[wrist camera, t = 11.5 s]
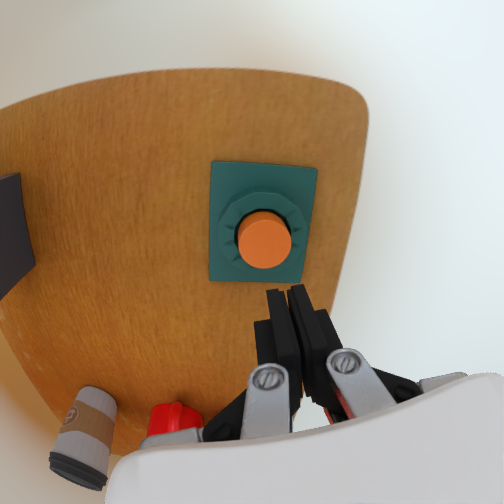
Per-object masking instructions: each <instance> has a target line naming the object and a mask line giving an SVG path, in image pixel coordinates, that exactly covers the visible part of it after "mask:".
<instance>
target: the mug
mask: <svg viewBox="0 0 504 504" xmlns="http://www.w3.org/2000/svg"><path fill="white" fill-rule="evenodd" d="M193 427H196V428H197V429H199V428H203V417H202V416H201V415H200V414H199V413H198V412H197V411H195V410H193V409H191V408H188V407H185V406H182V404H181V403H180V402H178V401H175V402H173V403H172V404H161V405H157V406H155V407H154V408H152V410H151V415H150V420H149V426H148V431H147V437H149V436H152V435H157V434H163V433H169V432H174V431H179V430H184V429H188V428H193Z"/></svg>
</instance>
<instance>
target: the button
mask: <svg viewBox="0 0 504 504" xmlns="http://www.w3.org/2000/svg"><path fill="white" fill-rule="evenodd" d="M238 246H239V252H240V254H241V256H242V258H243V259H244V260H245V262H247V263H248V264H249V265H251V266H253V267H256V268H261V269H267V268H272V267H275V266H277V265H279V264H280V263H282V262H283V261H284V260H285V259H286V257H287V256H288V254H289V252H290V250H291V236H290V234H289V232H288V230H287V228H286V226H285V224H284V222H283V221H282V219H281V218H280V217H278V216H277V215H276V214H274V213H271V212H267V211H259V212H255V213H252V214H250V215H249V216H247V217H246V218H245V219H244V220H243V221H242V223H241V224H240V227H239V230H238Z"/></svg>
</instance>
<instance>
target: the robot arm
mask: <svg viewBox="0 0 504 504" xmlns="http://www.w3.org/2000/svg"><path fill="white" fill-rule="evenodd" d="M266 293H267V300H268V306H269V313H270V319H268V320H261V321H255V322H254V330H255V339H256V349H257V359H258V366H257V367H256V368H254V369H253V370H252V371H251V373H250V375H249V377H248V384H247V389H245V390H244V391H243V392H242V393H241V394H240V395H239V396H238V397H237V398H236V399H235V400H233V401H232V402H231V403H230V404H229V405H228V406H227V407H226V408H225V409H223V410H222V411H221V412H220V413H219V414H218V415H217V416H215V417H214V418H213V419H212V420H211V421H209V422H208V423H207V424H206V426H205V427H203V428H199V429H197V428H196V427H193V428H188V429H184V430H179V431H174V432H169V433H163V434H157V435H152V436H149V437H146V438H145V439H144V440H142V442H141V444H140V446H139V450H138V451H135V452H132V453H130V454H128V455H126V456H124V457H123V458H122V459H120V461H119V462H118V463H117V464H116V466H115V468H114V470H113V472H112V474H111V477H110V480H109V484H108V487H107V492H106V496H105V502H104V504H504V377H503V376H501V375H499V374H496V373H479V374H473V375H469V376H468V375H467V374H466V373H463V372H456V373H451V374H446V375H442V376H437V377H432V378H427V379H421V380H420V381H419V382H417V383H415V382H413V381H411V380H409V379H406V378H402V377H399V376H396V375H393V374H390V373H387V372H384V371H381V370H378V369H375V368H373V367H371V366H370V365H369V364H368V362H367V361H366V359H365V358H364V357H363V355H362V354H361V353H360V352H358V351H357V350H354V349H351V348H343V346H342V344H341V342H340V339H339V338H338V335H337V333H336V330H335V328H334V326H333V324H332V321H331V319H330V317H329V315H328V313H327V311H326V309H321V310H317V311H314V309H313V306H312V304H311V301H310V299H309V296H308V294H307V292H306V289H305V287H304V285H303V284H300V285H294V286H291V289H290V290H287V297H288V305H287V302H286V298H285V295H284V291H279V290H278V288H277V289H272V290H266ZM288 306H289V309H288ZM302 381H303V385H304V390H305V394H306V397H310V396H311V398H312V402H313V403H314V402H316V404H318V405H320V406H322V407H323V408H324V412H325V414H326V416H327V418H328V420H329V422H330V424H331V425H327V426H323V427H319V428H314V429H310V430H305V431H300V432H294V433H293V415H294V413H295V412H296V411H297V410H298V409H299V408H300V398H303V392H302Z"/></svg>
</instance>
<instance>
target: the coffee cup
mask: <svg viewBox="0 0 504 504" xmlns="http://www.w3.org/2000/svg"><path fill="white" fill-rule="evenodd" d="M116 413H117V405H116V401H115V400H114V399H113V397H111V396H110V395H109V394H108V393H106V392H105V391H103V390H101V389H98V388H95V387H91V386H86V387H84V388H83V389H81V390H80V391H79V393H78V395H77V397H76V399H75V401H74V402H73V404H72V406H71V408H70V410H69V412H68V414H67V416H66V418H65V421H64V423H63V425H62V427H61V429H60V432H59V436H58V438H57V440H56V443H55V445H54V447H53V450H52V452H50V457H49V461H50V469H51V470H52V471H53V472H55V473H56V474H58V475H59V476H61V477H63V478H65V479H67V480H69V481H71V482H73V483H75V484H77V485H80V486H82V487H85V488H88V489H91V490H96V491H102V487H103V486H105V485H106V481H107V479H108V478H107V468H108V461H109V456H110V451H111V445H112V438H113V432H114V426H115V418H116Z"/></svg>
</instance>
